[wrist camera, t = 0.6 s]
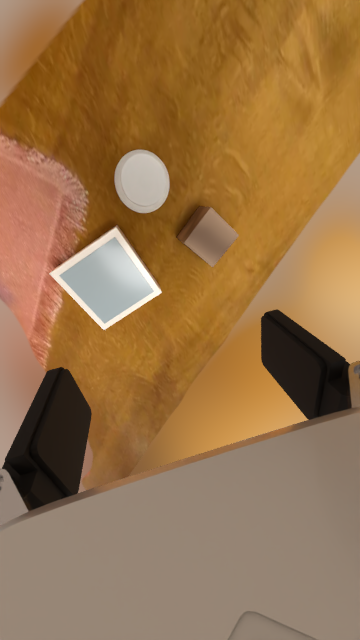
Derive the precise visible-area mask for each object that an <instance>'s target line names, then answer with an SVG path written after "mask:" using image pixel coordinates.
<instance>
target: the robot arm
mask: <svg viewBox="0 0 360 640" xmlns="http://www.w3.org/2000/svg"><path fill="white" fill-rule="evenodd" d="M261 343H262V344H261V356H262V357H261V358H262V363H263V365H264V366H265V368H266V369H267V370H268V371H269V373H270V374H271V375H272V376H273V377H274V379H275V380H276V381H277V382H278V383H279V385H280V386H281V387H282V388H283V389H284V391H285V392H286V393H287V395H288V396H289V397H290V398H291V399H292V400H293V402H294V403H295V404H296V405H297V407H298V408H299V409H300V410H301V412H302V413H303V414H304V415H305V416H306V418H307V419H309V420H307V421H304V422H300V423H297V424H294V425H291V426H287V427H284V428H281V429H278V430H275V431H271V432H268V433H265V434H262V435H258V436H255V437H252V438H249V439H246V440H242V441H239V442H236V443H233V444H230V445H226V446H223V447H220V448H217V449H214V450H211V451H208V452H205V453H201V454H198V455H195V456H192V457H189V458H185V459H183V460H179V461H176V462H173V463H170V464H167V465H164V466H160V467H157V468H154V469H151V470H148V471H145V472H142V473H139V474H136V475H132V476H129V477H126V478H123V479H120V480H117V481H114V482H111V483H108V484H105V485H101V486H98V487H95V488H92V489H90V490H87V491H84V492H81V493H78V490H79V484H80V479H81V473H82V467H83V461H84V456H85V450H86V444H87V438H88V433H89V427H90V421H91V409H90V407H89V405H88V403H87V401H86V400H85V398H84V396H83V394H82V393H81V391H80V389H79V387H78V386H77V384H76V382H75V380H74V378H73V377H72V375H71V373H70V371H69V370H68V369H64V368H63V367H60V368H56V369H52V370H49V371H47V373H46V375H45V377H44V379H43V381H42V383H41V385H40V387H39V389H38V392H37V394H36V396H35V398H34V400H33V402H32V404H31V406H30V408H29V410H28V412H27V414H26V416H25V419H24V421H23V423H22V425H21V427H20V429H19V431H18V434H17V435H16V437H15V440H14V441H13V444H12V446H11V448H10V450H9V452H8V454H7V456H6V458H5V463H4V465H3V467H2V469H0V640H360V361H356V362H354V363H352V364H351V365H350V364H349V363H348V362H346V361H345V360H346V359H345V358H344V357H342V356H340V354H338V353H337V352H335V351H334V350H333V349H331V348H330V347H328V346H327V345H326V344H324V343H323V342H321V341H320V340H319V339H317V338H316V337H315V336H313V335H312V334H311V333H309V332H308V331H307V330H305V329H304V328H302V327H301V326H300V325H298V324H297V323H296V322H294V321H293V320H291V319H290V318H289V317H287V316H286V315H284V314H283V313H282V312H280V311H279V310H273V311H269V312H266V313H265V314H264V316H262V318H261ZM77 493H78V494H77Z"/></svg>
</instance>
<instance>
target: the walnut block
mask: <svg viewBox="0 0 360 640" xmlns="http://www.w3.org/2000/svg"><path fill="white" fill-rule="evenodd" d="M238 236H239V235H238V234H237V233H236V232H235V231H234V230H233V229H232V228H231V227H230V226H229V225H228V224H227V223H226V222H225V221H224V220H223V219H222V218H221V217H220V216H219V215H218V214H217V213H216V212H215V211H214V210H213V209H212V208H211V207H203V206H199V207H198V209H197V210H196V211H195V213H194V214H193V215H192V217H191V218H190V220H189V221H188V222H187V224H186V225H185V226H184V228H183V229H182V230H181V232H180V233H179V234H178V236H177V238H178V239H179V240H180V241H181V242H182V243H184V244H185V245H186V246H187V247H188V248H190V249H191V250H192V251H193V252H194V253H196V254H197V255H198V256H199V257H200V258H201V259H203V260H204V261H205V262H207V263H208V264H209V265H210V266H212V267H214V265H215V264H216V263H217V262H218V260H219V259H220V258H221V257H222V256H223V254H224V253H225V252H226V251H227V249H228V248H229V247H230V246H231V245H232V243H233V242H234V241H235V240H236V238H237V237H238Z"/></svg>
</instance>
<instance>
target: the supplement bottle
mask: <svg viewBox="0 0 360 640" xmlns="http://www.w3.org/2000/svg"><path fill="white" fill-rule="evenodd" d="M114 179H115V187H116V191H117V193H118V195H119V197H120V199H121V201H122V202H123V203H124V204H125V205H126V206H127V207H128V208H130V209H131V210H133V211H136V212H138V213H150V212H153V211H155V210H157V209H158V208H159V207H161V206H162V205H163V203H164V202H165V200H166V198H167V196H168V193H169V187H170V181H169V175H168V172H167V169H166V167H165V165H164V163H163V162H162V161H161V160H160V158H159V157H157V156H156V155H155V154H153V153H152V152H149V151H147V150H133V151H131V152H128V153H127V154H125V155H124V156H123V157H122V158H121V160H120V161H119V163H118V165H117V167H116V170H115V177H114Z"/></svg>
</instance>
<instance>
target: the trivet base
mask: <svg viewBox="0 0 360 640" xmlns="http://www.w3.org/2000/svg"><path fill="white" fill-rule="evenodd" d="M49 274H50V275H51V276H52V277H53V278H54V279H55V280H56V281H57V282H58V283H59V284H60V285H61V286H62V287H63V288H64V289H65V290H66V291H67V292H68V294H69V295H70V296H71V297H72V298H73V299H74V300H75V301H76V302H77V303H78V304H79V305H80V306H81V307H82V308H83V309H84V310H85V311H86V312H87V313H88V314H89V315H90V316H91V317H92V318H93V319H94V320H95V321H96V323H97V324H98V325H99V326H100V327H101V328H102V329H103V330H105V329H106V328H108V327H110V326H111V325H113V324H114V323H116V322H117V321H119V320H120V319H122V318H123V317H125V316H126V315H128V314H129V313H131V312H133V311H134V310H136V309H137V308H139V307H140V306H142V305H143V304H145V303H146V302H148V301H149V300H151V299H153V298H154V297H156V296H157V295H159V294H160V293H162V291H161V289H160V286H159V284H158V283H157V281H156V280H155V278H154V277H153V276H152V274H151V273H150V271H149V270H148V268H147V267H146V265H145V264H144V263H143V261H142V260H141V258H140V257H139V255H138V254H137V253H136V251H135V250H134V248H133V247H132V245H131V244H130V242H129V241H128V240H127V238H126V237H125V235H124V234H123V232H122V231H121V229H120V228H119V227H118V225H116V226H115V227H113V228H112V229H110V230H109V231H108V232H106V233H105V234H103V235H102V236H100V237H99V238H98V239H96V240H95V241H93V242H92V243H90V244H89V245H88V246H86V247H85V248H83V249H82V250H80V251H79V252H77V253H76V254H75V255H73V256H72V257H70V258H69V259H67V260H66V261H65V262H63V263H62V264H60V265H59V266H57V267H56V268H55V269H54V270H53V271H52V272H51V273H49Z"/></svg>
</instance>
